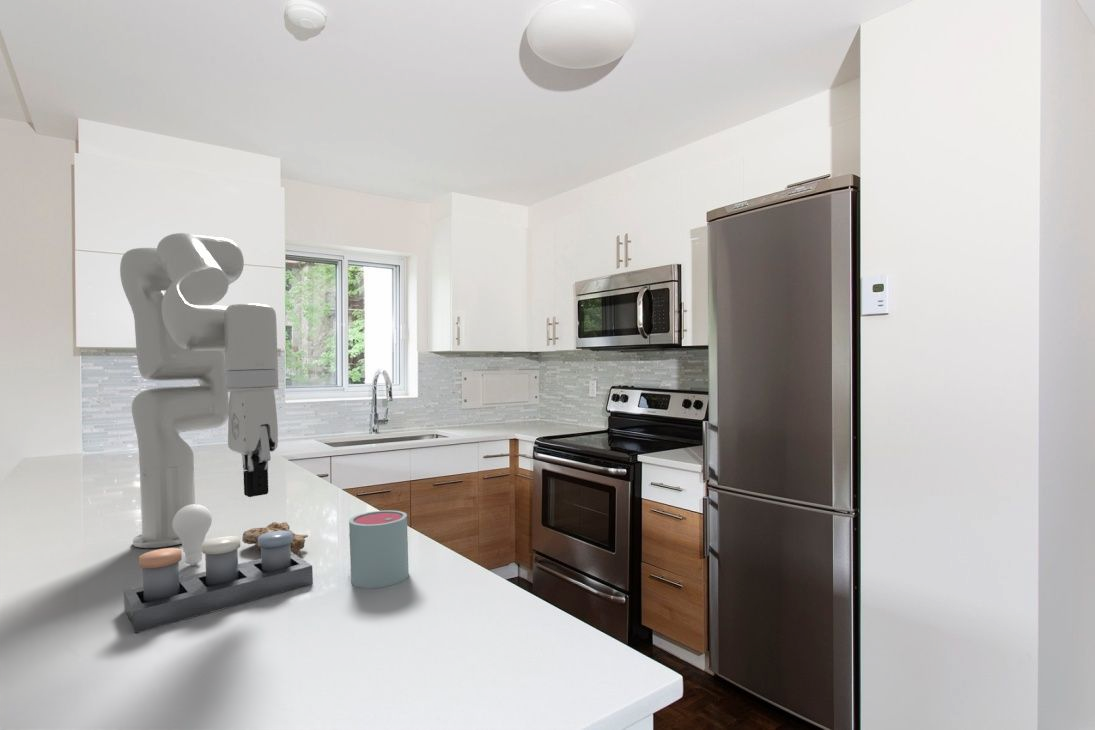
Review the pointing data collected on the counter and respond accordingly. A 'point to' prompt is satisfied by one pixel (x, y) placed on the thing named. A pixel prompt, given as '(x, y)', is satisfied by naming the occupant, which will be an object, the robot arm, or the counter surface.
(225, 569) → the cream key
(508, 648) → the counter surface
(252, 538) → the rock
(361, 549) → the mug
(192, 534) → the lightbulb
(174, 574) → the terracotta key
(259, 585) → the key panel
